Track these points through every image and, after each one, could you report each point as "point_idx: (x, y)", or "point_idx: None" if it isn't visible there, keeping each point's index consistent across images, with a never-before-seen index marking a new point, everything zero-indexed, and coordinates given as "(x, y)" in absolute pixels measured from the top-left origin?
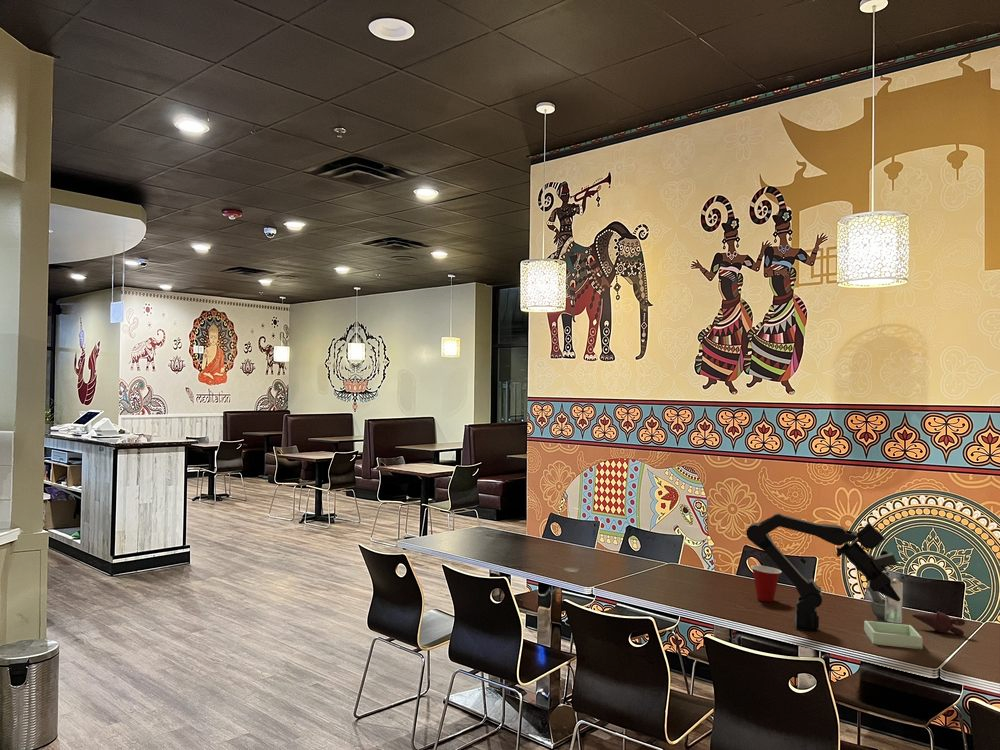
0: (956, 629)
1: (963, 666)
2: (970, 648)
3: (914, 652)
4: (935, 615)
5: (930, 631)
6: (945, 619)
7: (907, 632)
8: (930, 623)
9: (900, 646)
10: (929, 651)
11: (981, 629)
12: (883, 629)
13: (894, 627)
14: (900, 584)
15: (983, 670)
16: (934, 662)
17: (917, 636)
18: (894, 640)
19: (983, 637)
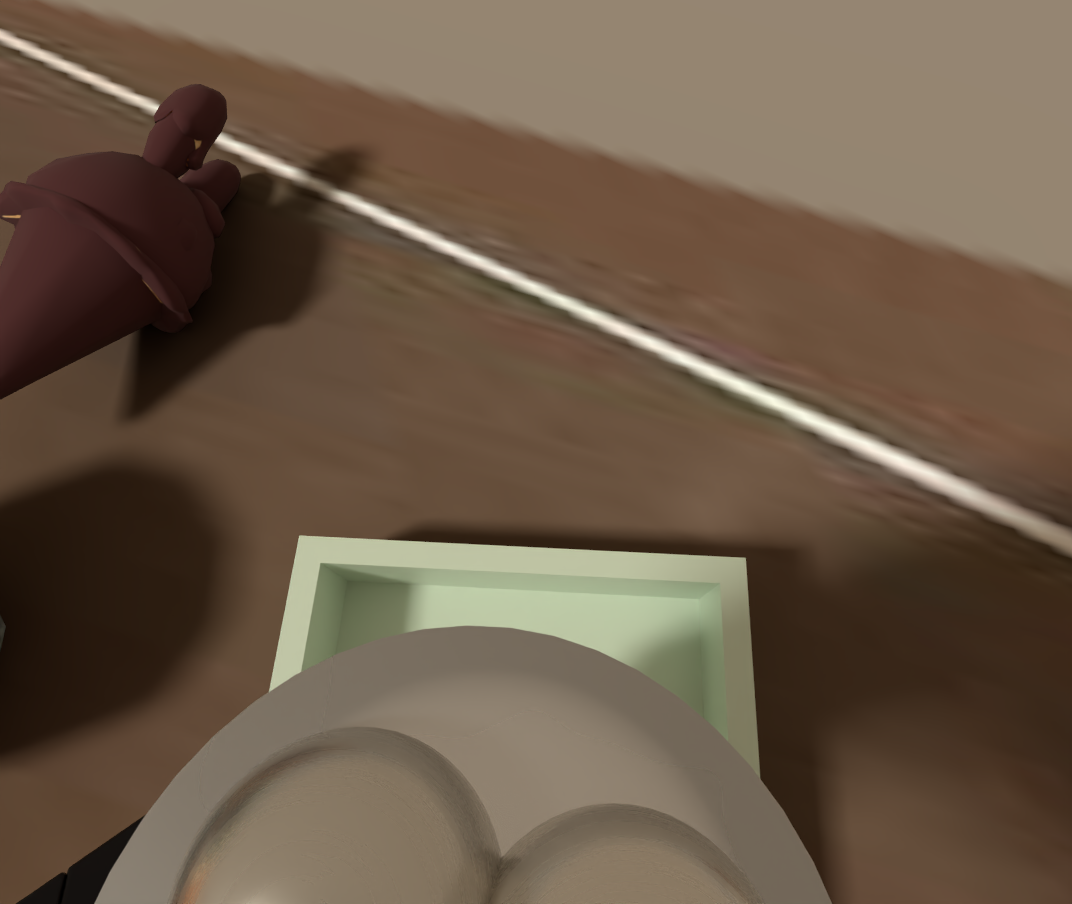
0: (210, 188)
1: (1036, 408)
2: (542, 233)
3: (844, 681)
4: (89, 241)
5: (157, 358)
6: (166, 198)
7: (340, 586)
8: (128, 324)
9: None
10: (749, 537)
11: (71, 49)
12: None
13: None
14: (770, 799)
15: (1052, 312)
16: (1063, 594)
17: (668, 583)
18: None
19: (254, 91)
